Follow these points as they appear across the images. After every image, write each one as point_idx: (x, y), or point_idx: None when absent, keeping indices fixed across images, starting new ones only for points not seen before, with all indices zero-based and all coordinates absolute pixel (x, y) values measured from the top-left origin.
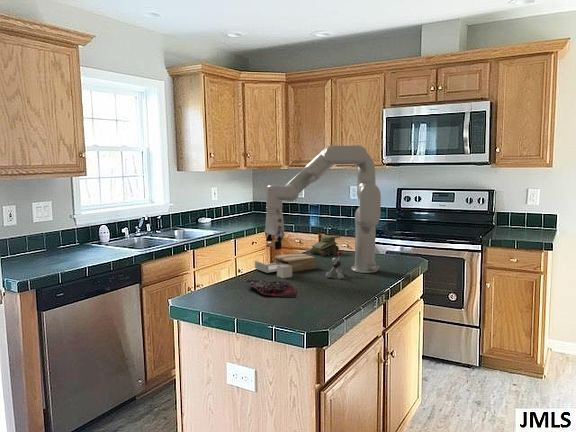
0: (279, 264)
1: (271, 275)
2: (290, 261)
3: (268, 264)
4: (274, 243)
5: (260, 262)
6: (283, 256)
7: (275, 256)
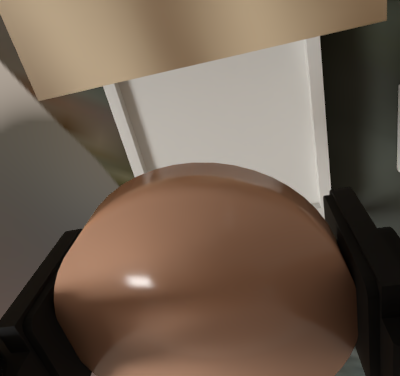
0: None
1: (358, 198)
2: (384, 16)
3: (140, 162)
4: (342, 354)
5: None
6: (90, 3)
7: (59, 95)
